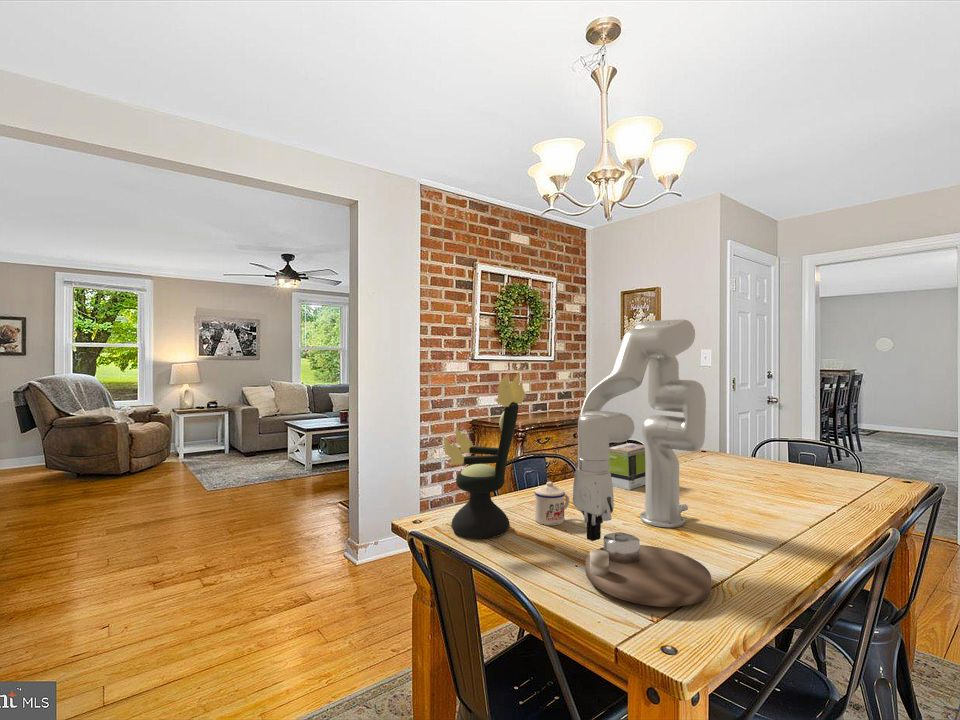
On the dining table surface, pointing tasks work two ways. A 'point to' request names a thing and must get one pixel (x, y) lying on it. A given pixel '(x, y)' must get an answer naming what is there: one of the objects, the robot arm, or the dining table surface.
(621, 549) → the cap
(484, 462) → the toy pedestal armchair
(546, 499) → the teacup with lid
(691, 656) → the dining table surface
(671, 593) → the turntable
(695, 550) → the dining table surface
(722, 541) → the dining table surface
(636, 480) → the tea box
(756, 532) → the dining table surface
